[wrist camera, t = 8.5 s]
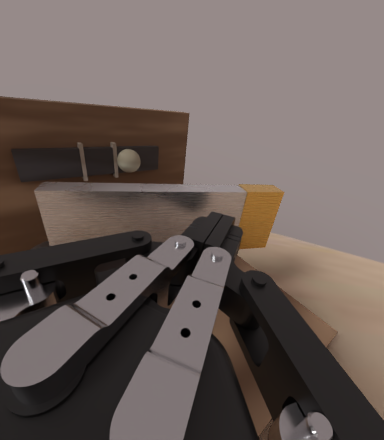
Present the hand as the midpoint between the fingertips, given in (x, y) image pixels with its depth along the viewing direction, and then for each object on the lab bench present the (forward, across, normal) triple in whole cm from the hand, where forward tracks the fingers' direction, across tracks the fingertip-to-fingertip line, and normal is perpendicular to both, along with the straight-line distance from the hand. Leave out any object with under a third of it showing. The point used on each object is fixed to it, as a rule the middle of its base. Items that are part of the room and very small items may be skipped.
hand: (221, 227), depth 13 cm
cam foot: (0, +5, +8) cm, 10 cm away
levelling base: (-1, +5, +10) cm, 11 cm away
